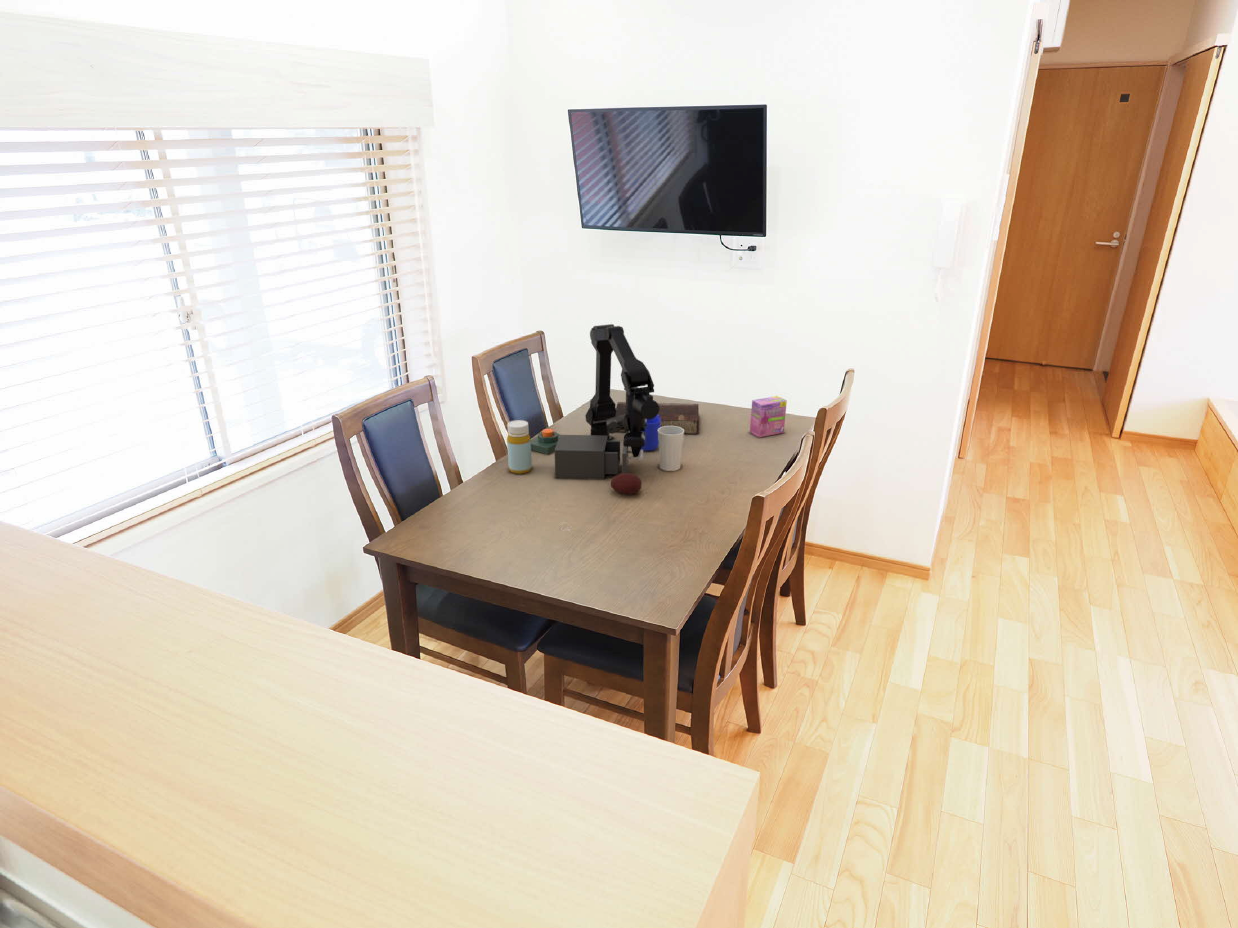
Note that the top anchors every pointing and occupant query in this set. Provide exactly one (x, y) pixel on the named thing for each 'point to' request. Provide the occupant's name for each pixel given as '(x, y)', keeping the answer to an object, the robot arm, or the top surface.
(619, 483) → the potato
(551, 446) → the control block
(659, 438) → the cup
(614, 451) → the drawer
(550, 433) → the button
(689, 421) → the book
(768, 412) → the box
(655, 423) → the mug
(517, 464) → the bottle
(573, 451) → the dark grey lidded case
